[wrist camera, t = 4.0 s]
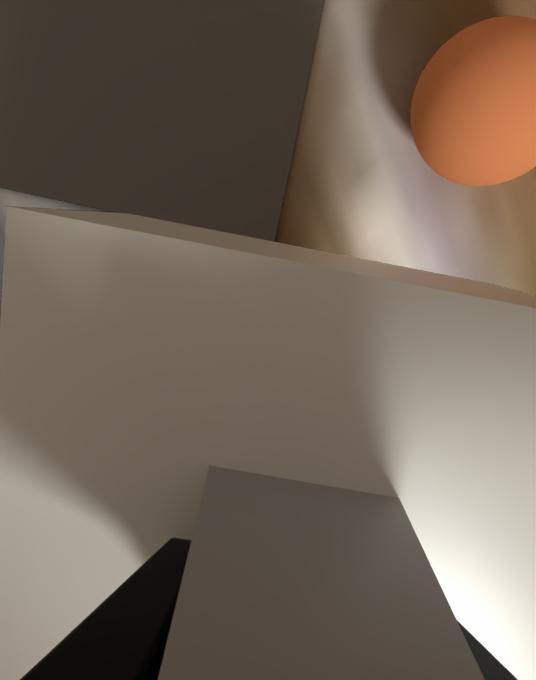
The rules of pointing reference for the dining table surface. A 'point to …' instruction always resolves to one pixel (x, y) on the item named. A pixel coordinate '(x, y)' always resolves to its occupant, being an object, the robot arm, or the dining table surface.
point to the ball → (479, 103)
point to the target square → (156, 105)
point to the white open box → (264, 451)
